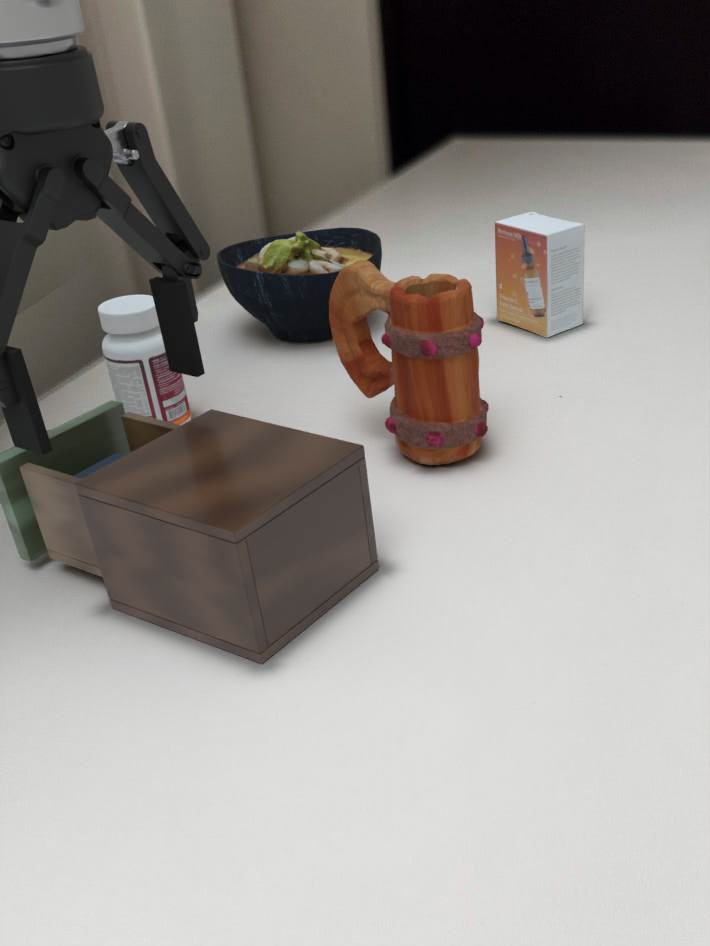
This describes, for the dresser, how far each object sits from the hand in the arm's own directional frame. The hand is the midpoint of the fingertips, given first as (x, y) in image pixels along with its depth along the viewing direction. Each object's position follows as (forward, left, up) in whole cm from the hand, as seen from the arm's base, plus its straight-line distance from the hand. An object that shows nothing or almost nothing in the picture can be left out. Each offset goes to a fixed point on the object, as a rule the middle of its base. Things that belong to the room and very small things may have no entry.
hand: (115, 408), depth 71 cm
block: (0, 0, -7) cm, 7 cm away
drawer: (-4, 0, -11) cm, 12 cm away
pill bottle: (-17, +17, -12) cm, 27 cm away
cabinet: (+9, 0, -12) cm, 15 cm away
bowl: (-20, +43, -12) cm, 49 cm away
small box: (+2, +55, -12) cm, 56 cm away
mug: (+7, +24, -12) cm, 28 cm away
